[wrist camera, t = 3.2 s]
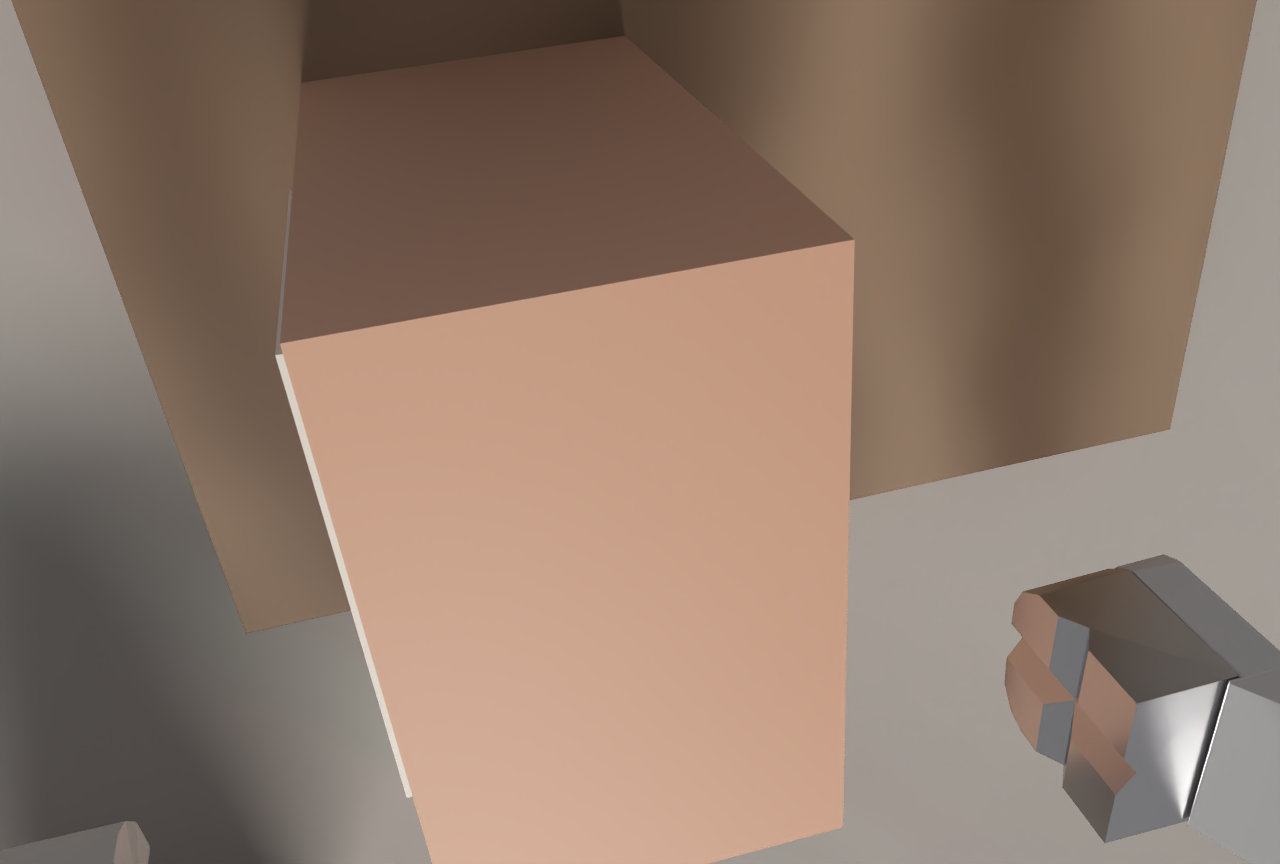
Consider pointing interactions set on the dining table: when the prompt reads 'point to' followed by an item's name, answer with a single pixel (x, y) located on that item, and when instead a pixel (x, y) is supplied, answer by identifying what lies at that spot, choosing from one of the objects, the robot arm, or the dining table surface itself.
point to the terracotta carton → (577, 452)
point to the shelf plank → (765, 120)
